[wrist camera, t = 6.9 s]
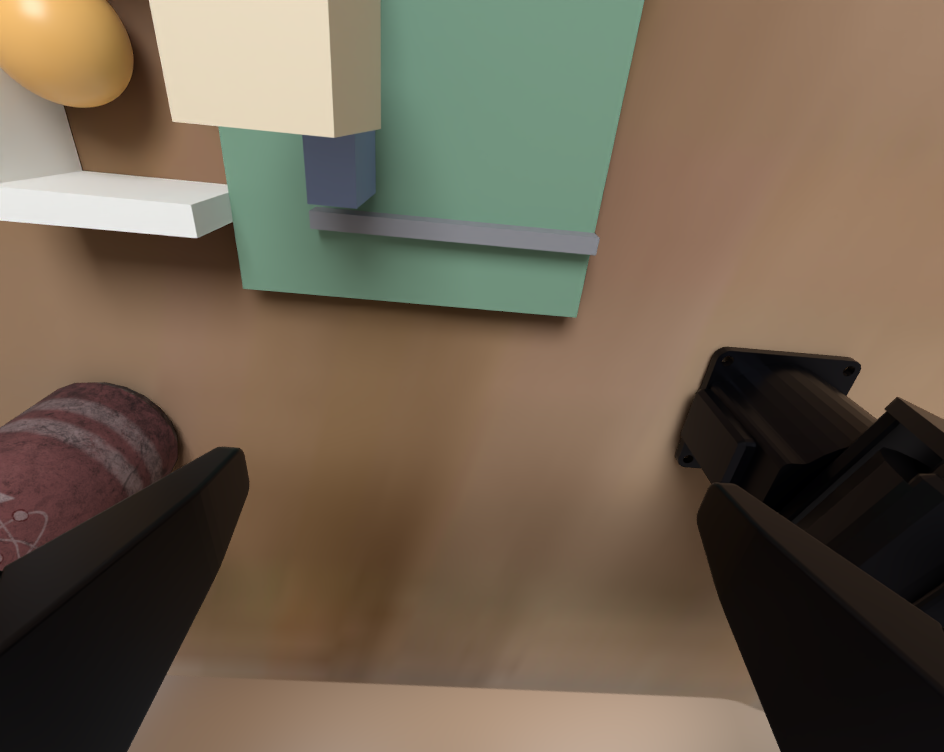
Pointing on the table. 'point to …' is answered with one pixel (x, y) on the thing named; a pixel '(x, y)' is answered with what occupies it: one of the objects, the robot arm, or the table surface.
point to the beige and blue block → (282, 79)
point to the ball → (66, 50)
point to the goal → (89, 180)
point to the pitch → (455, 163)
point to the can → (77, 461)
